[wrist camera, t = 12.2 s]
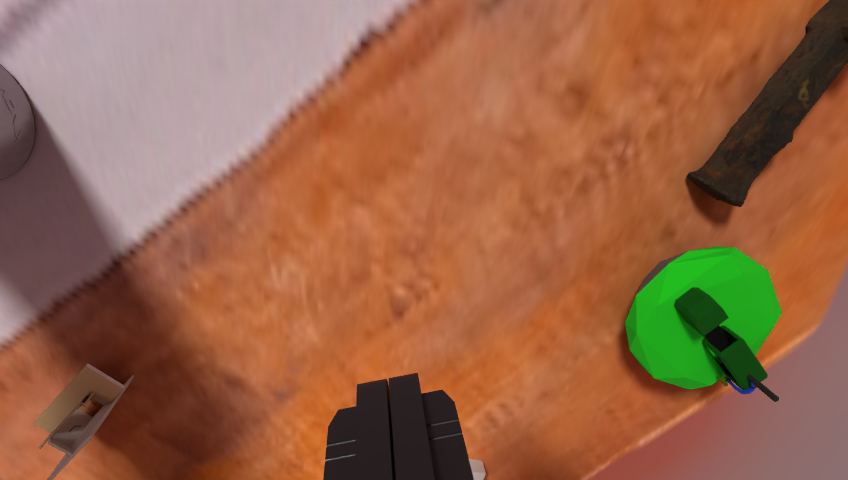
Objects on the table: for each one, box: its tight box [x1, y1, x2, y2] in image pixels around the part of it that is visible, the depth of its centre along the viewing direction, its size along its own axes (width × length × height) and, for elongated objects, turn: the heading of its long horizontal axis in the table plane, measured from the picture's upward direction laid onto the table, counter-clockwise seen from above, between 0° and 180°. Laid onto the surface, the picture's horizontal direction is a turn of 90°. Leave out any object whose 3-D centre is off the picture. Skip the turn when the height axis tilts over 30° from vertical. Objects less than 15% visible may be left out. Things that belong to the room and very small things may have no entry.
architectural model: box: [33, 363, 135, 480], centre depth 38 cm, size 3×7×7 cm, turn 135°
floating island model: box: [625, 247, 782, 402], centre depth 39 cm, size 12×12×11 cm
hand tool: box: [688, 0, 848, 207], centre depth 37 cm, size 19×4×5 cm, turn 146°
